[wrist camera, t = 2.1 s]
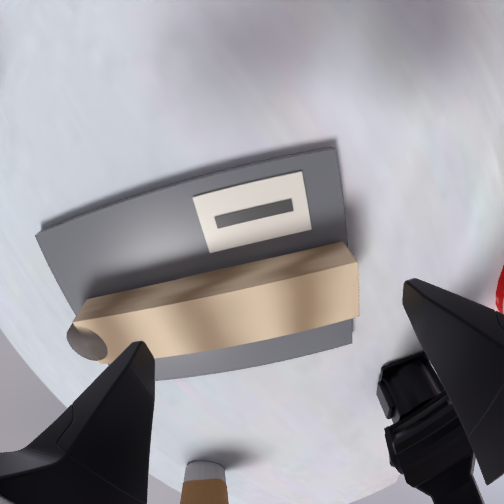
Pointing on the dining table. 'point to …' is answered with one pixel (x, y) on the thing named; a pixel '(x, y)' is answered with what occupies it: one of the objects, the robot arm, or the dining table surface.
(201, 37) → the dining table surface
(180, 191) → the label panel
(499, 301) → the kitchen timer
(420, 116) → the dining table surface
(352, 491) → the dining table surface
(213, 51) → the dining table surface
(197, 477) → the coffee cup
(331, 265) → the swing arm
